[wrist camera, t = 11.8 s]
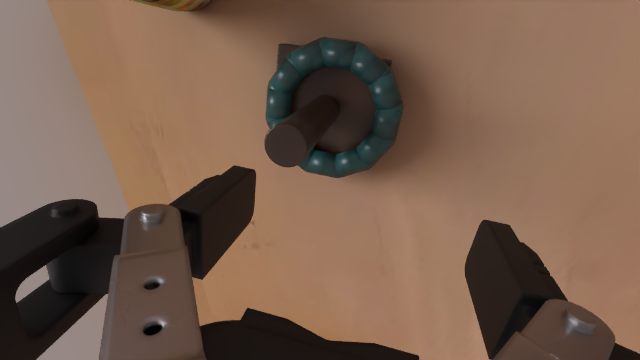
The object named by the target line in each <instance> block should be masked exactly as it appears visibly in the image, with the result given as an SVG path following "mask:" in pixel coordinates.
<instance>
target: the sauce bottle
mask: <svg viewBox="0 0 640 360" xmlns="http://www.w3.org/2000/svg"><path fill="white" fill-rule="evenodd" d="M130 1H135V2H139V3H143V4H147V5H151V6H156V7H160V8H164V9H169V10H173V11H196V10H200V9H202V8H203V7H204V6H206V5H207V4H208V3H209V2H210V1H211V0H130Z"/></svg>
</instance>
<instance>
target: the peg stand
mask: <svg viewBox="0 0 640 360" xmlns="http://www.w3.org/2000/svg"><path fill="white" fill-rule="evenodd" d="M300 47H302V46H297V45H290V44H279V47H278V59H277V69H278V68H279V66H280V65H281V63H282V61H283V60H284V58H285V57H286V56H287V54H288V53H290V52H291V51H293V50H295V49H298V48H300ZM381 60H382V61H384V62H385V63H386V64H387V65H388V66H389V67H390V66H391V60H386V59H381ZM375 111H376V107H375V104H374V101H373V98H372V95H371V93H370V90H369V87H368V85H367V84H366V83H364V82H363V81H362V80H361V79H360V78H358V77H357V76H356V75H355V74H354V73H353V72H351V71H350V70H347V69H340V68H334V67H328V66H326V67H323V68H321V69H319V70H316V71H314V72H312V73H309V74H307V75H305V76H304V78H303V79H302V81H301V82H300V83H299V85H298V86H297V88H296V89H295V90H294V92H293V93H292V102H291V113H290V116H288V117H287V118H286V119H284V120H283V121H281V122H280V123H278V124H277V125H275V126H274V127H272V128H271V129H270V130H269V131H268V133H267V134H266V137H265V150H266V153H267V155H268V156H269V158H270V159H271V160H272V161H273V162H274V163H276V164H278V165H280V166H283V167H294V166H297V165H299V164H300V163H301V162H302V161H303V160H304V159H305V158H306V157H307V155H308V154H309V153H310V152H311V150H312V149H313V148H314V149H315V150H319V151H324V152H329V153H334V154H338V153H341V152H344V151H347V150H350V149H353V148H356V147H358V146H359V145H360V143H361V142H362V141H363V140H364V139H365V138H366V137H367V135H368V134H369V133H370V132H371V131H372V126H373V121H374V116H375ZM367 170H368V169H367Z"/></svg>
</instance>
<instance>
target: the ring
mask: <svg viewBox="0 0 640 360" xmlns="http://www.w3.org/2000/svg"><path fill="white" fill-rule="evenodd" d="M326 66H328V67H334V68H340V69H347V70H350V71H351V72H353V73H354V74H355V75H356V76H357V77H358V78H360V79H361V80H362V81H363V82H364V83H366V84H367V85H368V87H369V90H370V93H371V95H372V98H373V101H374V104H375V107H376V111H375V116H374V121H373V126H372V131H371V132H370V133H369V134H368V135H367V137H366V138H365V139H364V140H363V141H362V142H361V143H360V145H359V146H358V147H356V148H353V149H350V150H347V151H344V152H341V153H338V154H334V153H329V152H324V151H319V150H315V149H314V148H313V149H312V150H311V152H310V153H309V154H308V155H307V157H306V158H305V159H304V160H303V161H302V162H301V163H300V164H299V165H298V166H299V167H300V168H302V169H303V170H304V171H306V172H310V173H314V174H319V175H324V176H329V177H334V178H341V177H344V176H347V175H351V174H354V173H357V172H361V171H364V170H367V169H369V168H371V167H372V166H373V165H374V164H375V163H376V162H377V161H378V160H379V159H380V158H381V157H382V156H383V155H384V154H385V153H386V152H387V151H388V149H389V148H390V147H391V146H392V145H393V144H394V142H395V140H396V136H397V132H398V128H399V123H400V119H401V115H402V110H403V102H402V99H401V96H400V93H399V90H398V87H397V84H396V80H395V77H394V74H393V71H392V69H391V68H390V67H389V66H388V65H387V64H386V63H385V62H384V61H382V60H381V59H380V58H379V57H378V56H377V55H376V54H374V53H373V52H372V51H371V50H370V49H369V48H367V47H366V46H365V45H364V44H362V43H360V42H355V41H348V40H341V39H334V38H327V37H323V38H319V39H317V40H315V41H313V42H311V43H308V44H306V45H304V46H302V47H300V48H298V49H295V50H293V51H291V52H290V53H288V54H287V56H286V57H285V58H284V60H283V61H282V63H281V65H280V66H279V68H278V69H277V71H276V72H275V74H274V75H273V77H272V78H271V80H270V81H269V83H268V90H267V105H266V121H267V124H268V126H269V128H270V129H271V128H272V127H274V126H275V125H277V124H278V123H280V122H281V121H283V120H284V119H286V118H287V117H288V116H290V113H291V102H292V93H293V92H294V90H295V89H296V88H297V86H298V85H299V83H300V82H301V81H302V79H303V78H304V76H305V75H307V74H309V73H312V72H314V71H316V70H319V69H321V68H323V67H326Z"/></svg>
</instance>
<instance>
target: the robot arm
mask: <svg viewBox="0 0 640 360" xmlns="http://www.w3.org/2000/svg"><path fill="white" fill-rule="evenodd" d="M255 186H256V172H255V170H254V169H249V168H244V167H240V166H233V167H231V168H230V169H229V170H227V171H226V172H225V173H223V174H222V175H216V176H213V177H210V178H207V179H205V180H203V181H202V182H200V183H199V184H198V185H197V186H195V187H193V188H192V189H190V191H188V192H186V193H185V194H183V195H182V196H180V197H179V198H178V199H176V200H175V201H173V202H172V203H170V204H169V205H165V204H150V205H144V206H141V207H138V208H135V209H133V210H131V211H130V212H129V213H128V214H127V215H126V216H125V219H120V218H99V216H98V210H97V206H96V204H95V203H93V202H91V201H88V200H82V199H70V200H62V201H58V202H54V203H50V204H47V205H45V206H43V207H41V208H39V209H37V210H35V211H33V212H31V213H29V214H27V215H25V216H23V217H21V218H19V219H17V220H15V221H13V222H11V223H9V224H7V225H5V226H3V227H1V228H0V360H36V359H37V358H38V357H39V356H40V355H41V354H42V353H44V352H45V351H46V350H47V349H48V348H49V347H50V346H51V345H52V344H53V343H54V342H55V341H56V340H57V339H59V337H61V336H62V335H63V333H65V332H66V331H67V330H68V329H69V328H70V327H71V326H72V325H73V324H74V323H76V321H78V319H80V318H81V317H82V316H83V315H84V314H85V313H86V312H87V311H88V310H89V309H90V308H92V307H93V306H94V305H95V304H96V303H97V302H98V301H99V300H100V299H101V298H102V297H103V296H104V295H105V294H108V300H107V306H106V313H105V320H104V327H103V334H102V340H101V347H100V354H99V360H419V356H418V355H414V354H411V353H407V352H404V351H400V350H396V349H393V348H389V347H386V346H382V345H379V344H375V343H360V342H343V341H330V340H326V339H324V338H322V337H320V336H318V335H316V334H314V333H313V332H311V331H309V330H307V329H305V328H303V327H301V326H299V325H298V324H296V323H294V322H292V321H290V320H288V319H286V318H282V317H279V316H275V315H271V314H268V313H264V312H261V311H257V310H254V309H250V308H247V310H246V311H245V313H244V315H243V317H242V318H241V320H230V321H220V322H214V323H210V324H206V325H202V326H200V325H199V318H198V312H197V306H196V299H195V293H194V286H193V280H192V277H194V278H198V279H201V280H202V279H203V278H204V277H205V276H206V275H207V273H208V272H209V271H210V270H211V269H212V267H213V266H214V265H215V264H216V263H217V261H218V260H219V259H220V258H221V257H222V255H223V254H224V253H225V252H226V251H227V249H228V248H229V247H230V246H231V245H232V243H233V242H234V241H235V240H236V239H237V237H238V236H239V235H240V234H241V233H242V231H243V230H244V229H245V228H246V227H247V225H248V224H249V223H250V221H251V219H252V216H253V212H254V203H255ZM45 265H46V266H47V270H48V274H49V278H50V279H49V280H48V281H46V282H45V283H44V284H42V285H41V286H40V287H38V288H37V289H35V290H34V291H33V292H31V293H30V294H29V295H27V296H26V297H25V298H23V299H22V300H21V301H19V302H18V303H16V301H15V295H16V291H17V289H18V287H19V286H20V284H21V283H22V282H23V281H24V280H25V279H26V278H27V277H29V276H30V275H31V274H33V273H34V272H36V271H37V270H39V269H40V268H42V267H43V266H45ZM465 277H466V281H467V284H468V288H469V291H470V295H471V298H472V302H473V305H474V308H475V312H476V315H477V319H478V322H479V326H480V329H481V333H482V336H483V340H484V343H485V347H486V350H487V353H488V357H489V359H491V360H640V354H639V353H637V352H634V351H632V350H630V349H628V348H625V347H623V346H621V345H619V344H617V343H615V336H614V334H613V332H612V331H611V329H610V328H609V327H608V326H607V325H606V324H605V323H604V322H603V321H602V320H601V319H600V318H598V317H597V316H596V315H594V314H593V313H591V312H590V311H588V310H586V309H585V308H583V307H581V306H579V305H576V304H574V303H571V302H568V300H567V299H566V297H565V296H564V294H563V293H562V291H561V290H560V288H559V287H558V285H557V283H556V282H555V280H554V279H553V277H552V276H550V273H549V271H548V270H547V268H546V267H544V264H543V262H542V261H541V259H540V258H539V256H538V255H537V254H536V253H535V252H534V251H533V250H532V249H530V248H529V247H528V246H527V245H526V244H524V243H522V242H520V241H519V240H518V238H517V236H516V235H515V233H514V231H513V230H512V228H511V227H510V225H507V224H503V223H498V222H493V221H489V220H483V221H482V222H481V223H480V225H479V228H478V230H477V233H476V236H475V238H474V241H473V243H472V246H471V248H470V251H469V254H468V256H467V259H466V263H465Z"/></svg>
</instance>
